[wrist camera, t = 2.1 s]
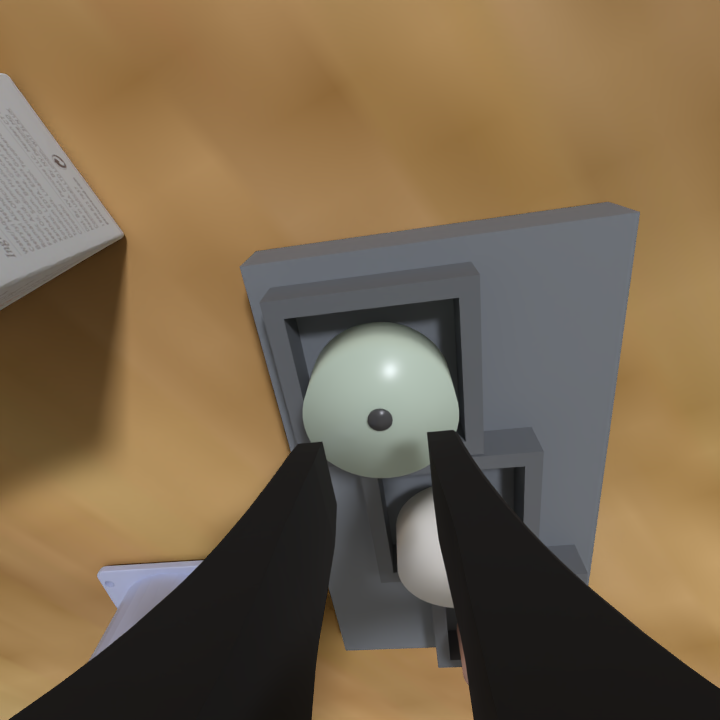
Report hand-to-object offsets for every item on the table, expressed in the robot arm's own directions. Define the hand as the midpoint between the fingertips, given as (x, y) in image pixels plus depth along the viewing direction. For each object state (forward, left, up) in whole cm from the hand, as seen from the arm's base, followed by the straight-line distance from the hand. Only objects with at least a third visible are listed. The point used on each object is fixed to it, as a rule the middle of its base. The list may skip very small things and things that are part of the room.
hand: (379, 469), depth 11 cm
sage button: (0, 0, -4) cm, 4 cm away
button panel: (-6, -2, -7) cm, 10 cm away
